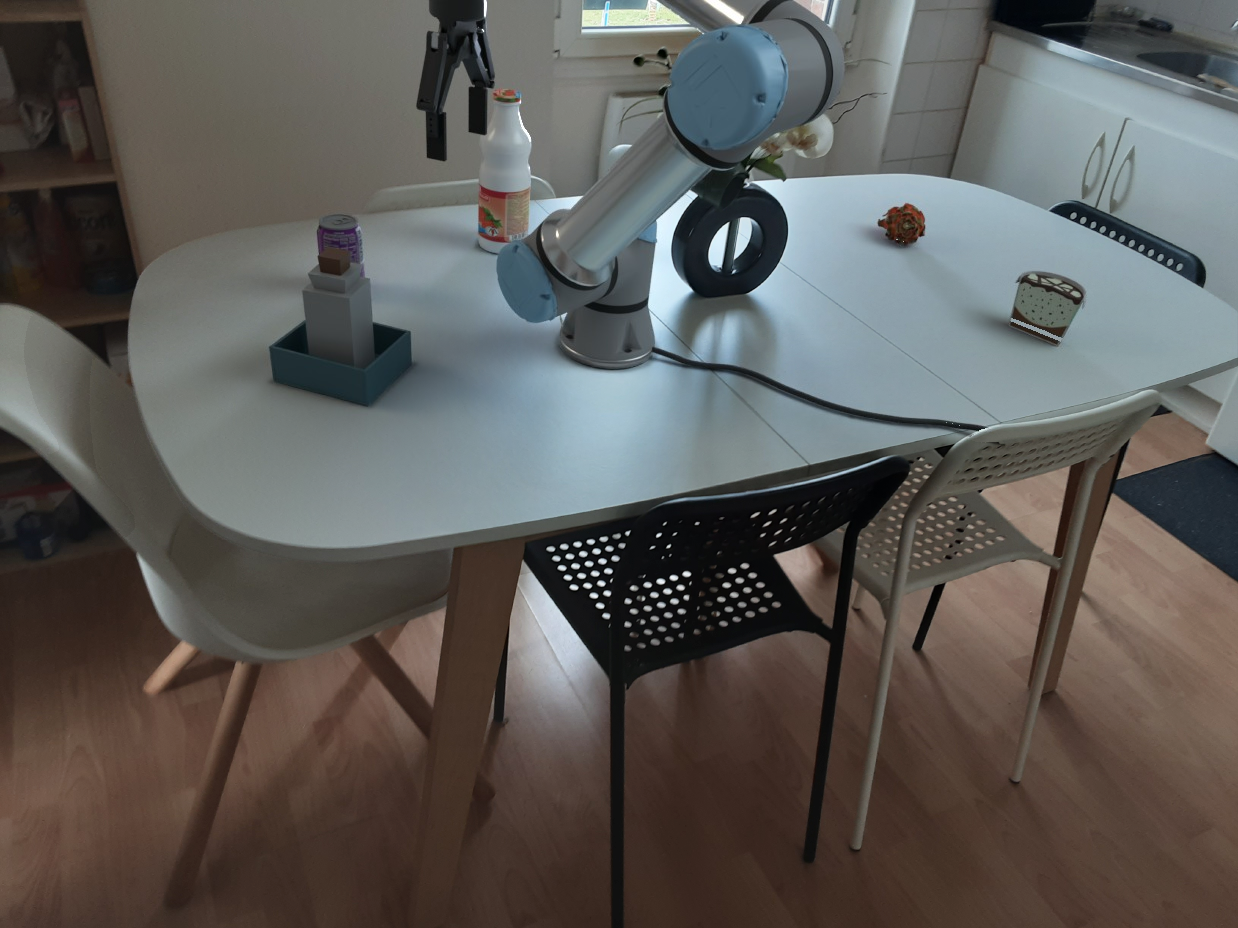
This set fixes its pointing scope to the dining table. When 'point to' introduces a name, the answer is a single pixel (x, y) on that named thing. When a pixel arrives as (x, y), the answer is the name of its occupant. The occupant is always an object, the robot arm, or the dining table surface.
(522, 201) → the fruit juice
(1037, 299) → the food container
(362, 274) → the beverage can
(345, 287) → the perfume bottle
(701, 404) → the dining table surface
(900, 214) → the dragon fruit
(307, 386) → the case
